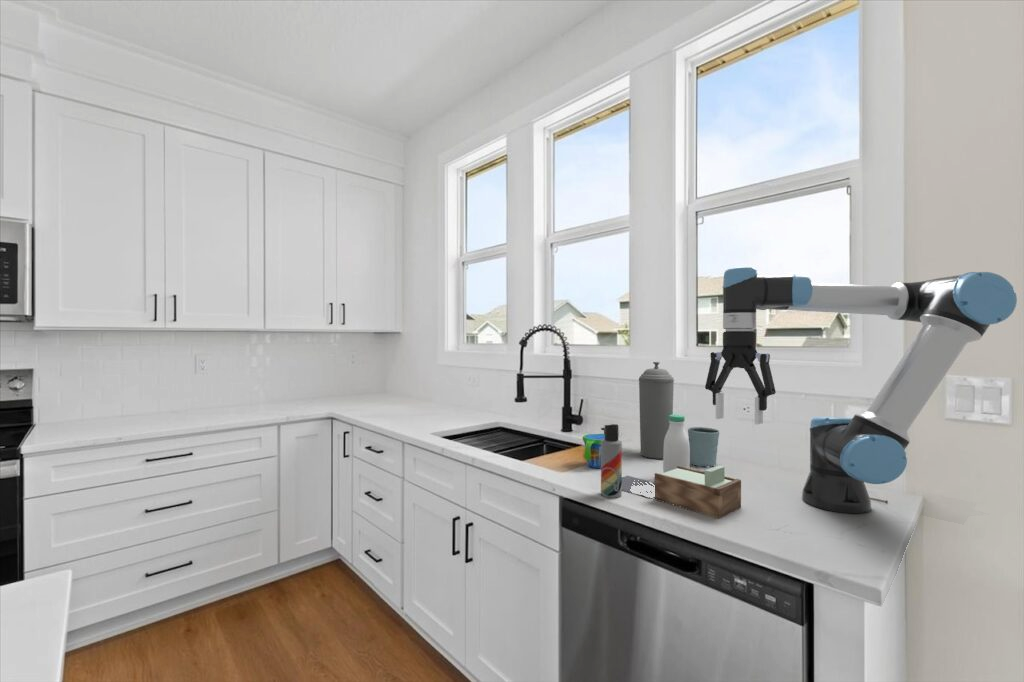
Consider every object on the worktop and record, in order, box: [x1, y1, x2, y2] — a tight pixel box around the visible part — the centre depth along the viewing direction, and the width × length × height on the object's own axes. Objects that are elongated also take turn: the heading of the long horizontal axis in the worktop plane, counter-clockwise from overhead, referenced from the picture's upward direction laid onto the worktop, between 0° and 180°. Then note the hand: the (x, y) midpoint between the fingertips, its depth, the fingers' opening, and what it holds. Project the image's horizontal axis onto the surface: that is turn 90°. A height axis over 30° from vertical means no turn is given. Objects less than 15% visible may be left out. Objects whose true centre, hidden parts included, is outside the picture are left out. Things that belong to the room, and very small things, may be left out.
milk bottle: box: [662, 414, 691, 473], centre depth 150 cm, size 8×8×20 cm
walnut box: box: [654, 466, 742, 519], centre depth 129 cm, size 18×12×7 cm, turn 40°
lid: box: [660, 465, 731, 488], centre depth 130 cm, size 16×10×5 cm, turn 40°
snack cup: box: [582, 433, 605, 469], centre depth 166 cm, size 16×10×10 cm
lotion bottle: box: [600, 423, 623, 499], centre depth 136 cm, size 6×6×20 cm
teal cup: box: [687, 426, 720, 467], centre depth 169 cm, size 10×10×12 cm
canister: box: [638, 361, 675, 460], centre depth 180 cm, size 13×13×35 cm
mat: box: [622, 475, 655, 499], centre depth 144 cm, size 17×13×1 cm
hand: (738, 420), depth 121 cm, fingers open, 9 cm apart
